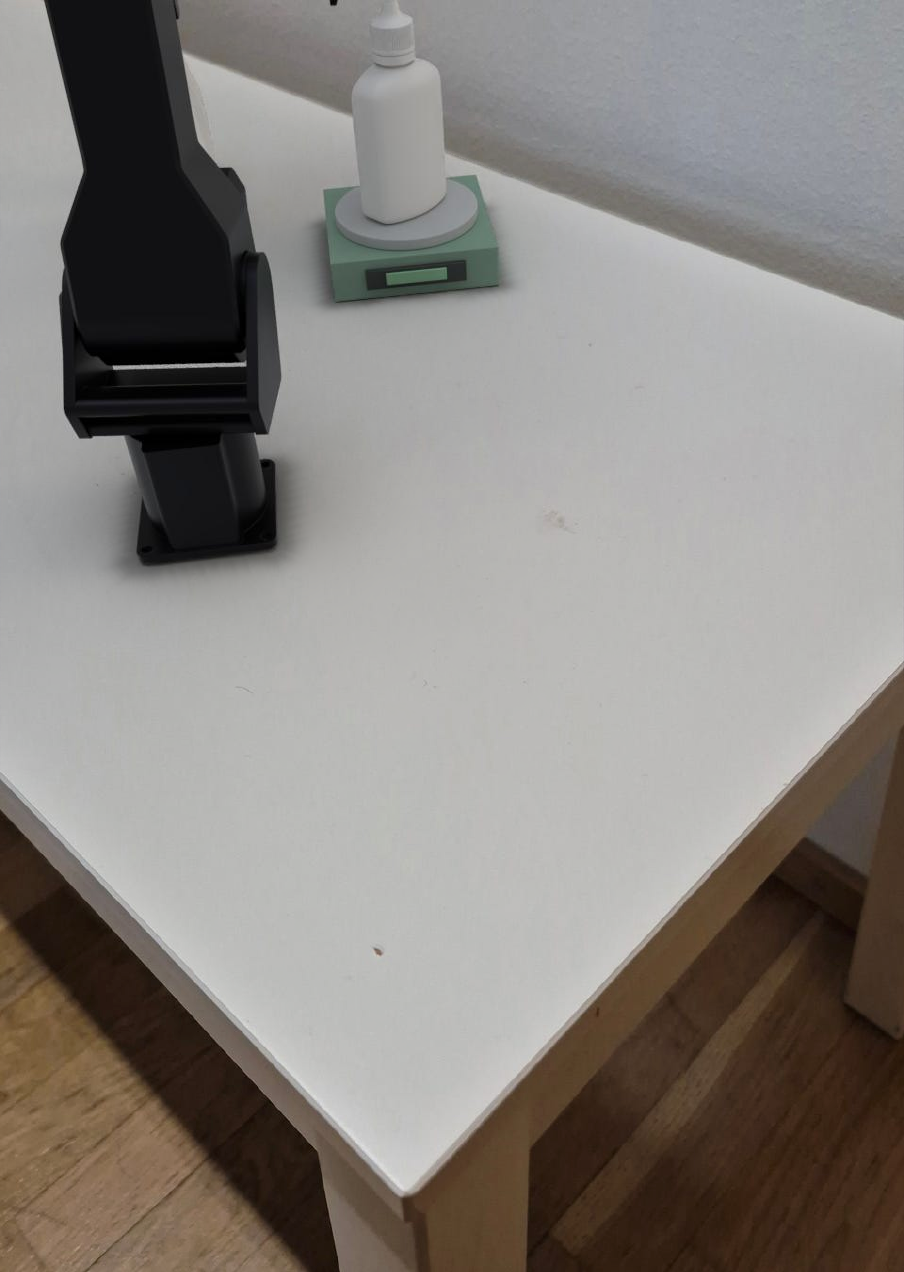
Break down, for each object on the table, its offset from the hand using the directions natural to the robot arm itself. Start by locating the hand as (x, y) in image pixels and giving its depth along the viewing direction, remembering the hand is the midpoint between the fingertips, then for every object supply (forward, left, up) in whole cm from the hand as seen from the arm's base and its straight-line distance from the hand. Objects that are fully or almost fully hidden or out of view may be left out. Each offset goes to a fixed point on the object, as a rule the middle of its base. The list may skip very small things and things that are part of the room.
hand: (255, 10), depth 68 cm
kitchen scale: (-6, -8, -13) cm, 16 cm away
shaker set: (+4, +6, -13) cm, 15 cm away
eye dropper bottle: (-6, -8, -10) cm, 14 cm away
